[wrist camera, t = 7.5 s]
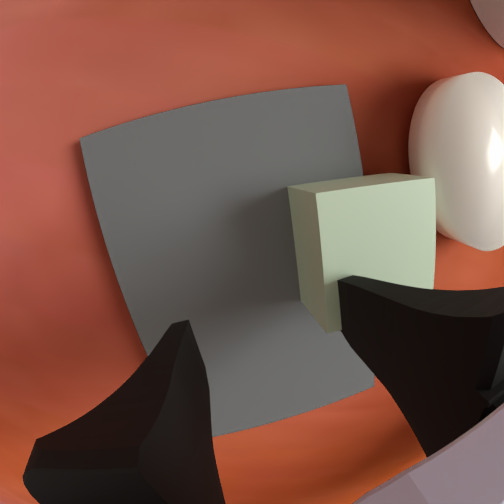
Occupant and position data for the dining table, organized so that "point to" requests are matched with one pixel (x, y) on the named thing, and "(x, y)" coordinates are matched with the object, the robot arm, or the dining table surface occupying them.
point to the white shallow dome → (463, 156)
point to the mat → (229, 242)
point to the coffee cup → (491, 17)
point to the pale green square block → (362, 236)
